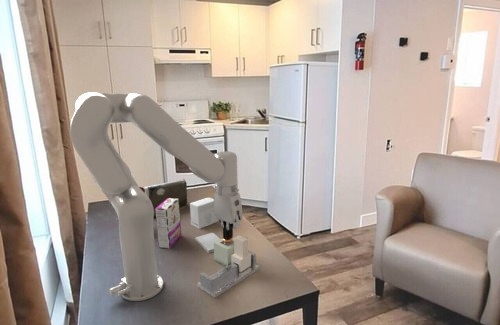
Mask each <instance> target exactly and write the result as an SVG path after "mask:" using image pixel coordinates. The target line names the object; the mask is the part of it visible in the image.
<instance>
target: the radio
mask: <svg viewBox="0 0 500 325" xmlns="http://www.w3.org/2000/svg"><path fill="white" fill-rule="evenodd" d="M143 188H144V189H145V194H146V195H147V196H148V197H149V199H150V200H151V202H152V205H153V209H154V218H156V212H155V208H157V207H158V206H159V205H160V204H162V203H163V202H164V201H165V200H166V199H167V198H174V199H179V211H181V210H183V209H184V208H187V207H188V206H189V205H188V190H187V188H188V186H187V181H186V179H184V178H183V179H180V180H173V181H168V182H162V183H159V184H152V185H149V186H144V187H143Z"/></svg>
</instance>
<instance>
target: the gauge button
mask: <svg viewBox="0 0 500 325" xmlns="http://www.w3.org/2000/svg"><path fill="white" fill-rule="evenodd" d="M233 238H234V237H232V238H230V239H228V240H225V239H223V243H224V245H226V246H229V245H231V244H232V241H233Z"/></svg>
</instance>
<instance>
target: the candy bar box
mask: <svg viewBox="0 0 500 325" xmlns="http://www.w3.org/2000/svg"><path fill="white" fill-rule="evenodd" d="M155 212H156V217H155V220H156V228H157V229H156V230H157V239H158V248H160V249H161V248H162V249H171V248H172V247H173V246H174V245H175V244H176V242H177V241H178V240H179V239H180V238H181V237H182V227H181V215H180V210H179V199H174V198H167V199H166V200H165V201H164V202H163V203H162V204H160V205H159V206H158V207H157V208H155Z"/></svg>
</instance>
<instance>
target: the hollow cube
mask: <svg viewBox="0 0 500 325" xmlns="http://www.w3.org/2000/svg"><path fill="white" fill-rule="evenodd" d="M234 238H235V237H233V241H232V244H231V245H229V246H226V245H224V243H223V237H222V238H220V240H218V241H216V242H214V252H213V258H214V259H213V260H214V262H217V263H218V264H220V265H222V266H223V267H224V268H225V267H227V266H228V265H230V264H232V261H231V255H233V254H234Z"/></svg>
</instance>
